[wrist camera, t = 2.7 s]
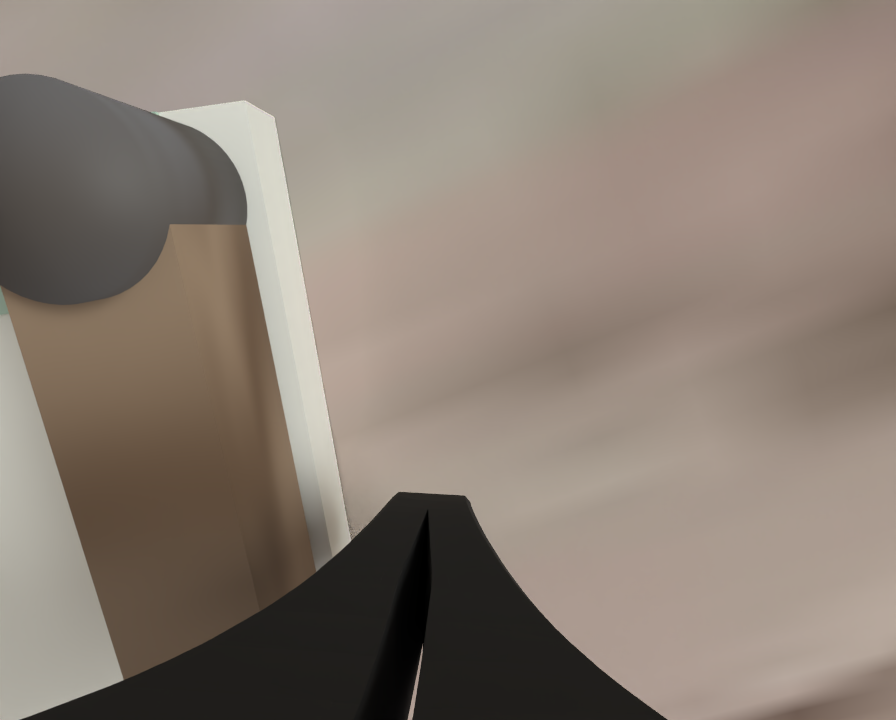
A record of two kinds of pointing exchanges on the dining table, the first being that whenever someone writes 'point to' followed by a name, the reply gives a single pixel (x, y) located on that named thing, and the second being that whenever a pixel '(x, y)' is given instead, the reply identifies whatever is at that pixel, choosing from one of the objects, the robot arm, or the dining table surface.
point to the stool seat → (40, 487)
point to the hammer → (148, 364)
